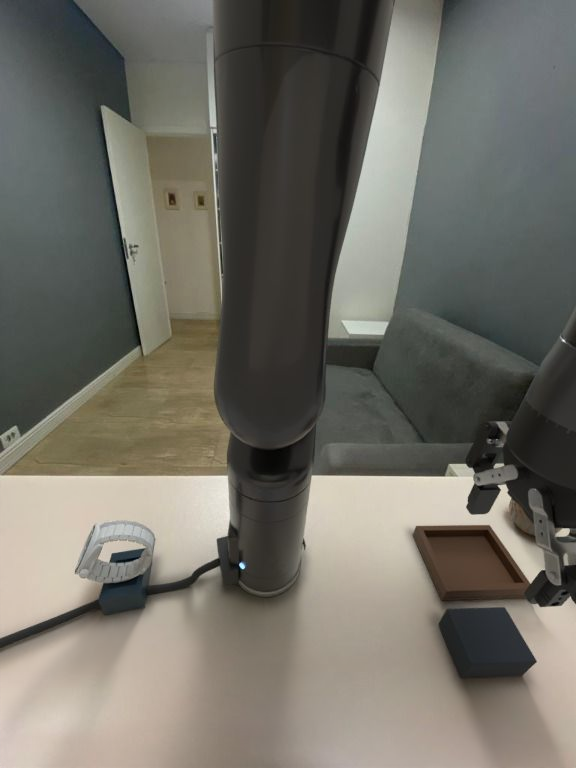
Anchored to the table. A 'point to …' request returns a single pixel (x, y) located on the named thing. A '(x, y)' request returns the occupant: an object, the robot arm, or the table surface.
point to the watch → (118, 565)
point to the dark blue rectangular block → (485, 643)
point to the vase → (523, 518)
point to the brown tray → (469, 562)
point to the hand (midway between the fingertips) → (503, 550)
